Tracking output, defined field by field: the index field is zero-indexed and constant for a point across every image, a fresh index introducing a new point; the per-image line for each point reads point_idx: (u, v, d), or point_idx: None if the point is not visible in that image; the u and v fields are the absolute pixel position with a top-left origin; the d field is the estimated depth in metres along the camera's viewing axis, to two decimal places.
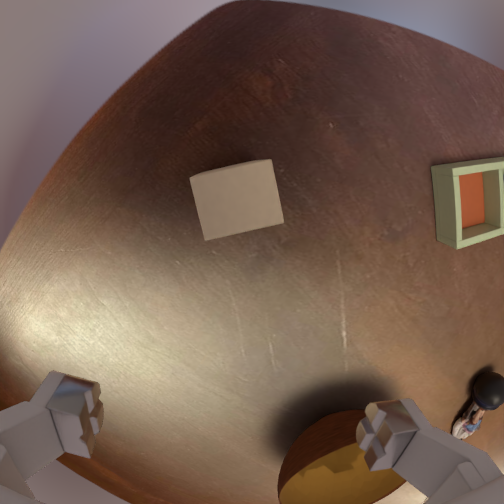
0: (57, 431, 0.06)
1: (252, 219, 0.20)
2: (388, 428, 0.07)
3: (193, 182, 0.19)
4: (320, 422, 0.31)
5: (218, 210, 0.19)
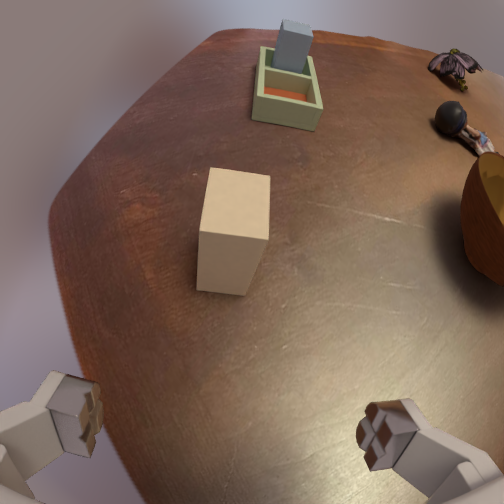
0: (57, 431, 0.06)
1: (259, 196, 0.20)
2: (388, 428, 0.07)
3: (205, 228, 0.18)
4: (471, 246, 0.29)
5: (241, 217, 0.19)
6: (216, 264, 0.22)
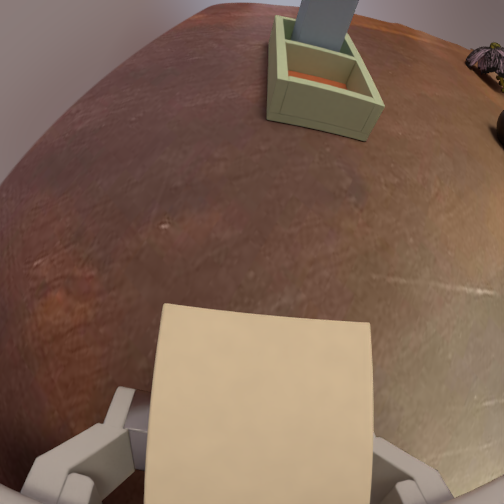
0: (132, 450, 0.06)
1: (344, 417, 0.05)
2: None
3: None
4: None
5: None
6: None
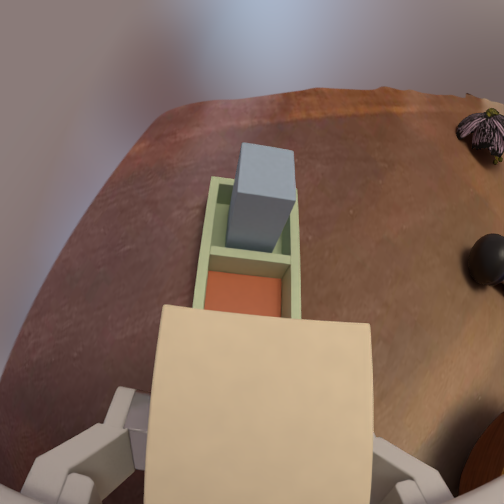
0: (132, 450, 0.06)
1: (343, 418, 0.05)
2: None
3: None
4: None
5: None
6: None
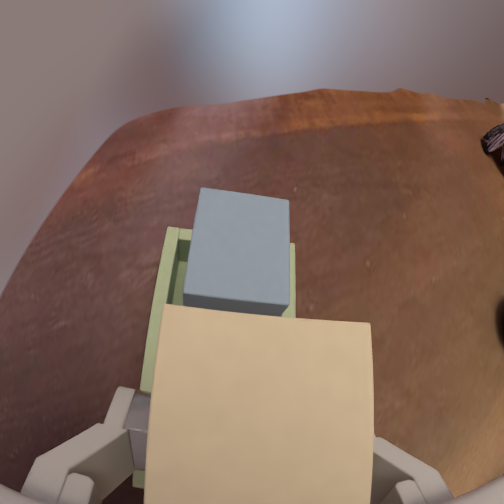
0: (132, 450, 0.06)
1: (343, 418, 0.05)
2: None
3: None
4: None
5: None
6: None
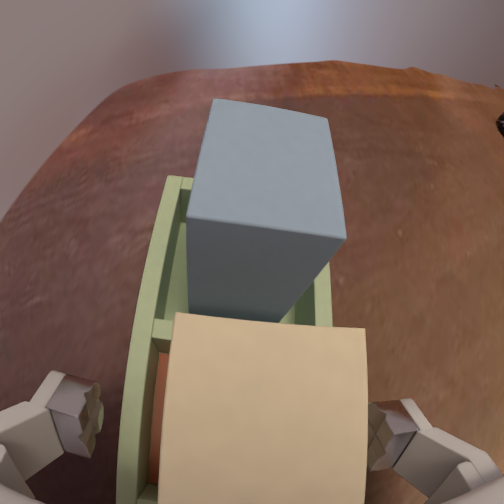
0: (57, 431, 0.06)
1: (340, 416, 0.06)
2: (388, 428, 0.07)
3: None
4: None
5: None
6: None
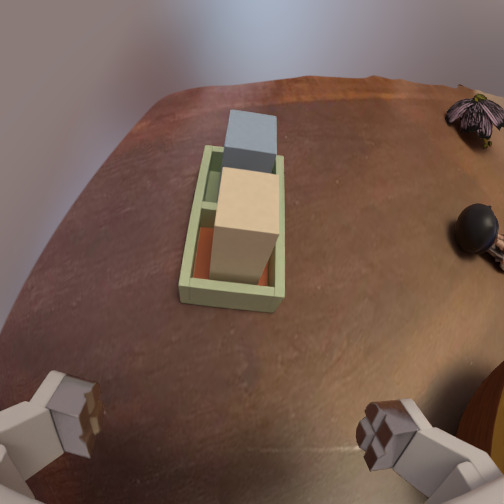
0: (57, 431, 0.06)
1: (270, 193, 0.21)
2: (388, 428, 0.07)
3: (220, 224, 0.19)
4: None
5: (254, 214, 0.20)
6: (228, 258, 0.23)
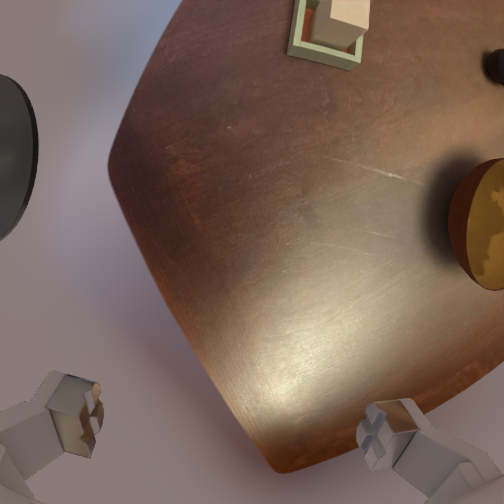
0: (57, 431, 0.06)
1: (364, 4, 0.23)
2: (388, 428, 0.07)
3: (333, 17, 0.23)
4: (448, 225, 0.37)
5: (353, 15, 0.23)
6: (330, 34, 0.27)
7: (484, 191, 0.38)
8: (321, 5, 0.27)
